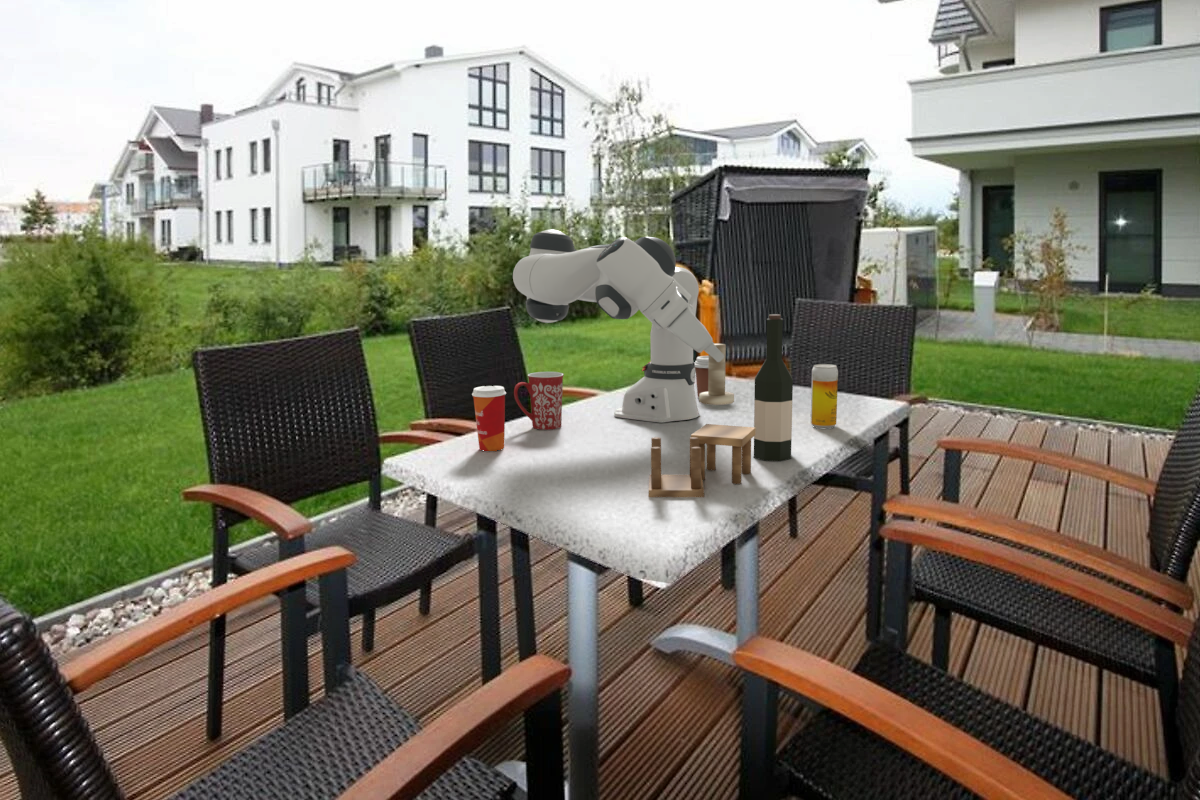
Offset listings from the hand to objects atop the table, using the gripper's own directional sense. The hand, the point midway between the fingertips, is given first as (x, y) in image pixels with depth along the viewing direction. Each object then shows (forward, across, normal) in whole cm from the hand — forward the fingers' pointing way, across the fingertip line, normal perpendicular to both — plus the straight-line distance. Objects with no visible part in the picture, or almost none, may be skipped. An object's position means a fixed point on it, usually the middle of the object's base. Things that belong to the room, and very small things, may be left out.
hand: (720, 357), depth 154 cm
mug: (-12, -44, -46) cm, 64 cm away
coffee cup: (+19, -79, -14) cm, 83 cm away
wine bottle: (+25, -14, -8) cm, 30 cm away
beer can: (+37, -41, +4) cm, 56 cm away
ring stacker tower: (+6, 0, -6) cm, 9 cm away
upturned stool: (+10, +8, -23) cm, 27 cm away
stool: (+17, 0, -16) cm, 23 cm away
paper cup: (-18, -22, -52) cm, 59 cm away
